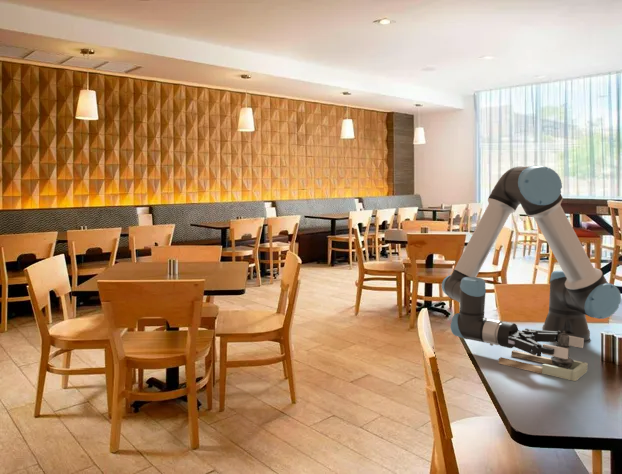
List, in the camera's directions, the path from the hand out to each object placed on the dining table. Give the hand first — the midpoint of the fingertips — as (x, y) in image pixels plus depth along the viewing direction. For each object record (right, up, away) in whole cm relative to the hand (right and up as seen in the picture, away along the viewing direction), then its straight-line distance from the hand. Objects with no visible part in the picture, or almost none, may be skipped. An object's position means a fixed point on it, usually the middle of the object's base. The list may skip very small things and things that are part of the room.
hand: (575, 348), depth 152 cm
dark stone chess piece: (-3, -7, +3) cm, 8 cm away
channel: (-10, -6, +10) cm, 15 cm away
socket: (-3, -7, +3) cm, 8 cm away
